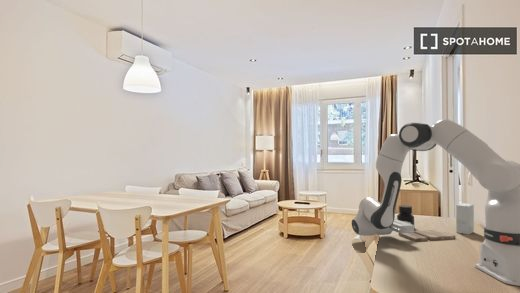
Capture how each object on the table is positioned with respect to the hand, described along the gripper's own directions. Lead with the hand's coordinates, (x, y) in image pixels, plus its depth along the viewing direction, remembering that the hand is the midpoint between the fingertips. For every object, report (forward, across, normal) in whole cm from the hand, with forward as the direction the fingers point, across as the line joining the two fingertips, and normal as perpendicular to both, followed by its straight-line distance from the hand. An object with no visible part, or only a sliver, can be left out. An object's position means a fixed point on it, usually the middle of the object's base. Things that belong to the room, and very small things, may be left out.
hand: (409, 223), depth 151 cm
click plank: (+7, 0, +7) cm, 10 cm away
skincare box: (+36, +3, +7) cm, 37 cm away
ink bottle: (+13, +19, +7) cm, 24 cm away
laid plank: (+2, 0, +7) cm, 7 cm away
